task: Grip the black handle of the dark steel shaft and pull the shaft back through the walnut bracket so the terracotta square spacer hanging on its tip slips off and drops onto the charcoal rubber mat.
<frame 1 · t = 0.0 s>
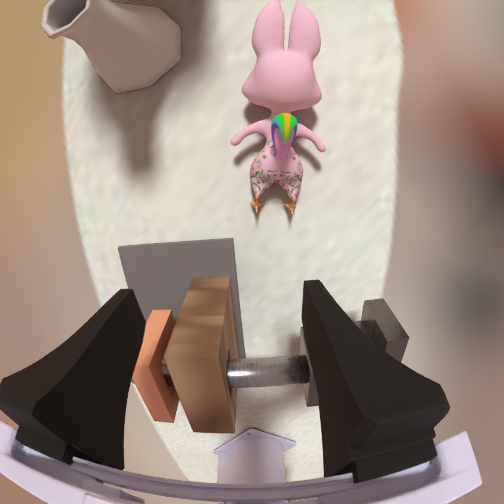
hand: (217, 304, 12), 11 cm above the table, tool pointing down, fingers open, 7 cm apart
pink toy animal: (278, 105, 18), on the table
shaft: (259, 369, 18), point 7 cm above the table, slide at 0.0 cm, touching spacer
spacer: (170, 340, 22), point 3 cm above the table, touching shaft
mat: (217, 315, 25), on the table
flask: (138, 50, 16), on the table
bracket: (211, 353, 20), on the mat
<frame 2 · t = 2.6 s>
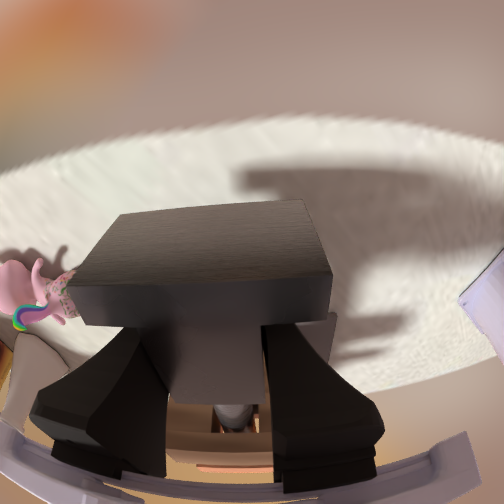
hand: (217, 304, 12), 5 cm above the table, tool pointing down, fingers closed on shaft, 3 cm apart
pink toy animal: (37, 274, 18), on the table
shaft: (230, 392, 13), point 7 cm above the table, slide at 0.0 cm, touching gripper, spacer
spacer: (243, 399, 20), point 3 cm above the table, touching shaft
mat: (239, 338, 21), on the table
flask: (42, 351, 24), on the table
bracket: (238, 395, 17), on the mat
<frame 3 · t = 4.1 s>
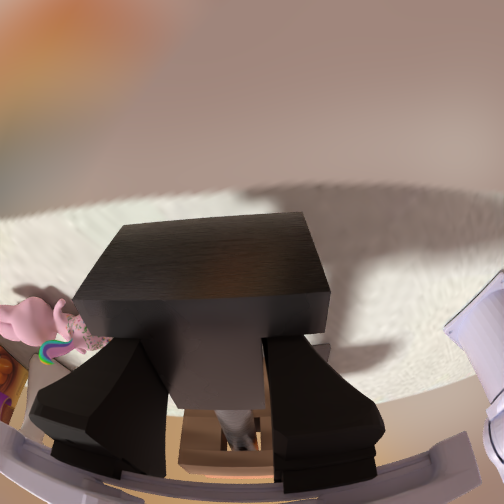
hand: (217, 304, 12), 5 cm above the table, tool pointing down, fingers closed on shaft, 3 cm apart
candy box: (4, 352, 25), on the table
pink toy animal: (56, 307, 20), on the table
shaft: (231, 397, 14), point 7 cm above the table, slide at 3.0 cm, touching gripper, spacer
flask: (56, 370, 26), on the table
bracket: (242, 416, 19), on the mat
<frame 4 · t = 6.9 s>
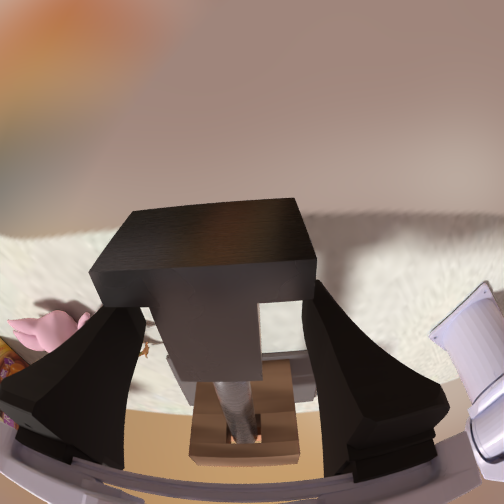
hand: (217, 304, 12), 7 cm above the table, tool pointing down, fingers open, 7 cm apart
candy box: (17, 358, 28), on the table
pink toy animal: (78, 319, 23), on the table
shaft: (231, 375, 15), point 7 cm above the table, slide at 5.5 cm
mat: (245, 367, 25), on the table
bracket: (245, 413, 21), on the mat
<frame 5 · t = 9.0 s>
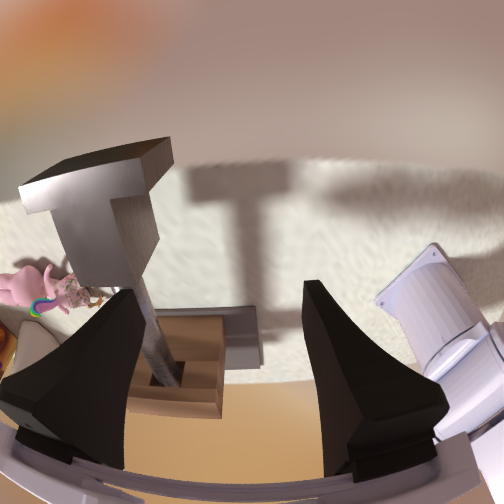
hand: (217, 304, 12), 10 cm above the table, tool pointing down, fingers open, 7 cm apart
pink toy animal: (47, 276, 25), on the table
shaft: (136, 301, 17), point 7 cm above the table, slide at 5.5 cm
mat: (184, 323, 27), on the table
flask: (41, 336, 30), on the table
bracket: (176, 364, 23), on the mat
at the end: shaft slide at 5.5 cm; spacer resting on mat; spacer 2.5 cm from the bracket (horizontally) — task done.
